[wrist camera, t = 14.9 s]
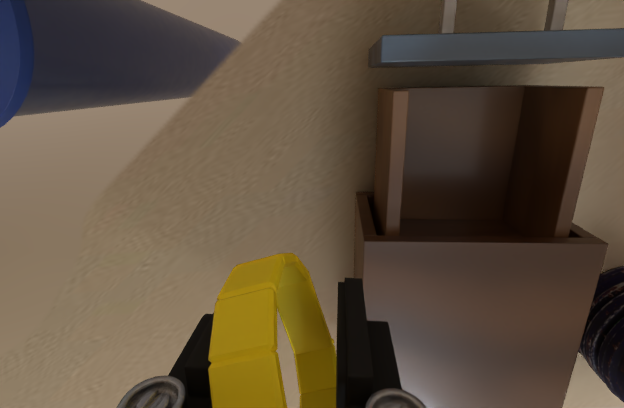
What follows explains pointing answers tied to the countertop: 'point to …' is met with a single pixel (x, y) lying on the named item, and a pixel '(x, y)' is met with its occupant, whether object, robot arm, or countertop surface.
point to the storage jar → (607, 331)
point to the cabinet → (479, 311)
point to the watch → (269, 337)
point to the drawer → (485, 133)
